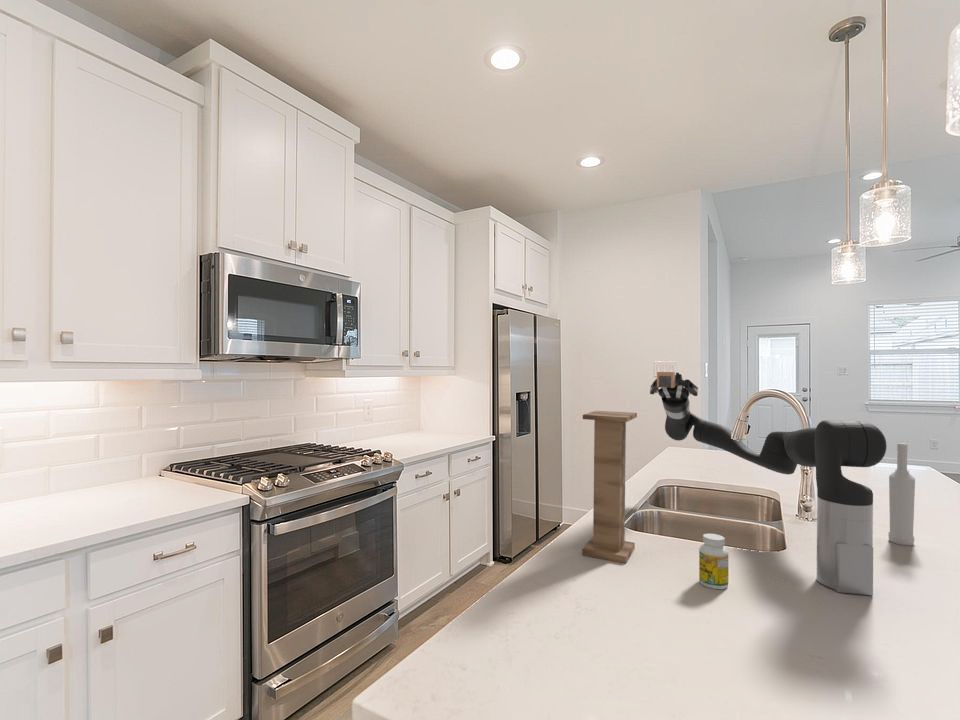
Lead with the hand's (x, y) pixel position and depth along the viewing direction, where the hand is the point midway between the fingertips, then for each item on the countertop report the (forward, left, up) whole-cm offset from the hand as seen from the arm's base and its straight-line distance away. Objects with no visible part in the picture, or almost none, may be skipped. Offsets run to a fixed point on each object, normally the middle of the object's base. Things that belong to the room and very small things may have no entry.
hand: (670, 375), depth 142 cm
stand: (-27, +17, -41) cm, 52 cm away
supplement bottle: (-40, -3, -42) cm, 58 cm away
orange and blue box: (-3, +1, -3) cm, 4 cm away
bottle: (-2, -56, -42) cm, 69 cm away
